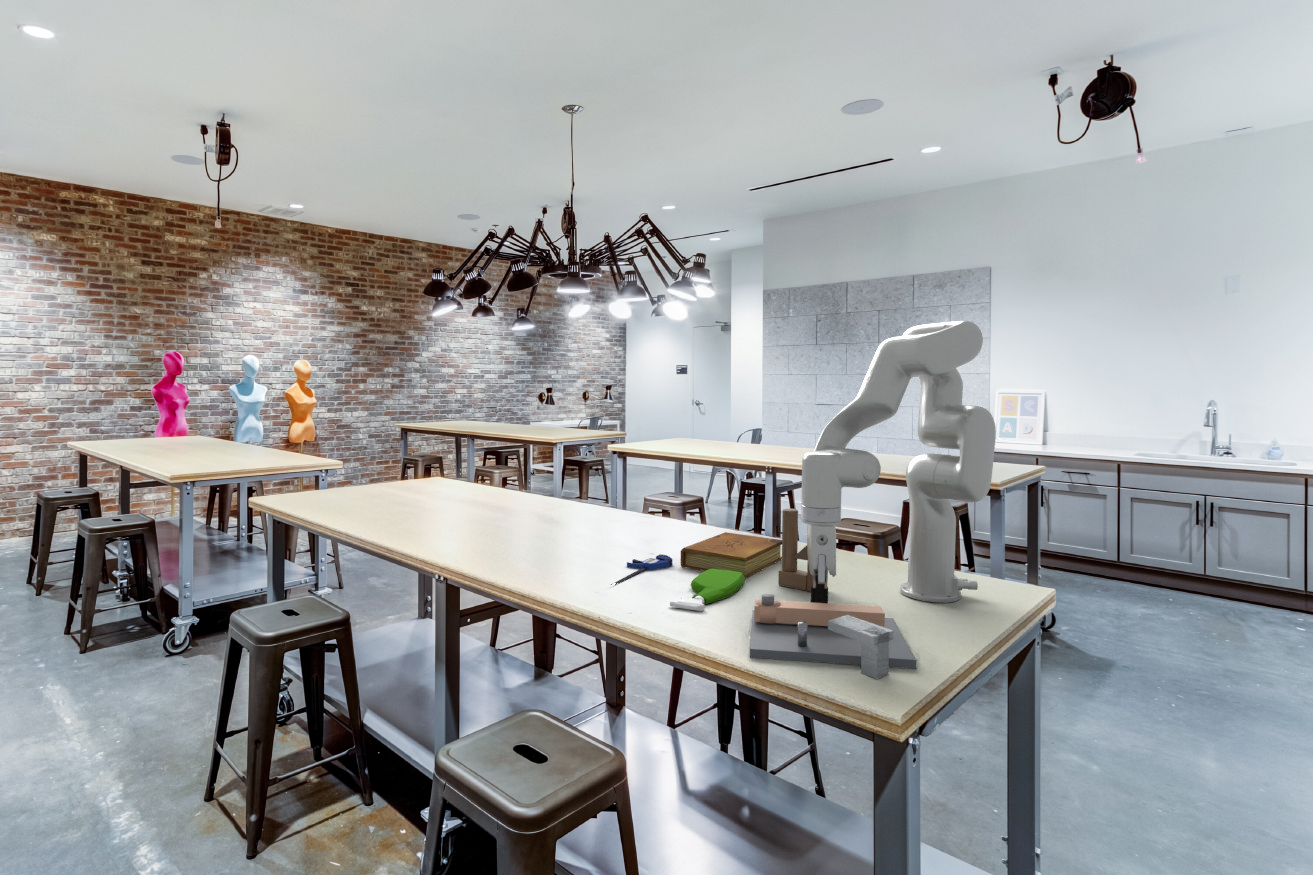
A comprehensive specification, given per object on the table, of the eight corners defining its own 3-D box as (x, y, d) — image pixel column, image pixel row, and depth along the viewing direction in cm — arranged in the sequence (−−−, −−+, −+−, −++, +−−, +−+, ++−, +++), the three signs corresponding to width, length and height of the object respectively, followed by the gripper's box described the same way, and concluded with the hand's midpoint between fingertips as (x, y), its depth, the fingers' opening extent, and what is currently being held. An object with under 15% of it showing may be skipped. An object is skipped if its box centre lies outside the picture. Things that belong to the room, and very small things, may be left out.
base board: (892, 625, 125) (893, 618, 125) (916, 668, 106) (916, 659, 106) (752, 617, 130) (752, 610, 130) (749, 657, 110) (749, 648, 110)
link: (754, 622, 121) (754, 599, 121) (754, 613, 126) (754, 591, 126) (884, 630, 117) (885, 606, 117) (880, 620, 122) (880, 597, 122)
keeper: (795, 653, 112) (796, 613, 112) (821, 644, 116) (822, 606, 115) (865, 683, 100) (866, 639, 100) (892, 672, 104) (893, 630, 104)
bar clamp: (644, 551, 176) (676, 555, 171) (644, 559, 176) (677, 564, 171) (573, 586, 148) (609, 592, 143) (573, 596, 148) (610, 603, 143)
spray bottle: (748, 584, 154) (711, 618, 132) (705, 578, 159) (663, 610, 137) (748, 572, 154) (711, 604, 132) (705, 566, 158) (663, 596, 136)
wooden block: (821, 594, 145) (822, 515, 144) (777, 585, 152) (778, 509, 150) (827, 590, 148) (829, 512, 147) (785, 582, 154) (786, 507, 153)
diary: (722, 551, 187) (723, 531, 187) (783, 561, 176) (783, 540, 176) (680, 568, 168) (680, 546, 168) (745, 580, 158) (745, 556, 157)
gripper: (844, 522, 118) (842, 621, 119) (837, 508, 133) (835, 596, 134) (802, 521, 119) (800, 618, 121) (800, 507, 134) (798, 594, 135)
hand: (819, 606), depth 127 cm, fingers closed
